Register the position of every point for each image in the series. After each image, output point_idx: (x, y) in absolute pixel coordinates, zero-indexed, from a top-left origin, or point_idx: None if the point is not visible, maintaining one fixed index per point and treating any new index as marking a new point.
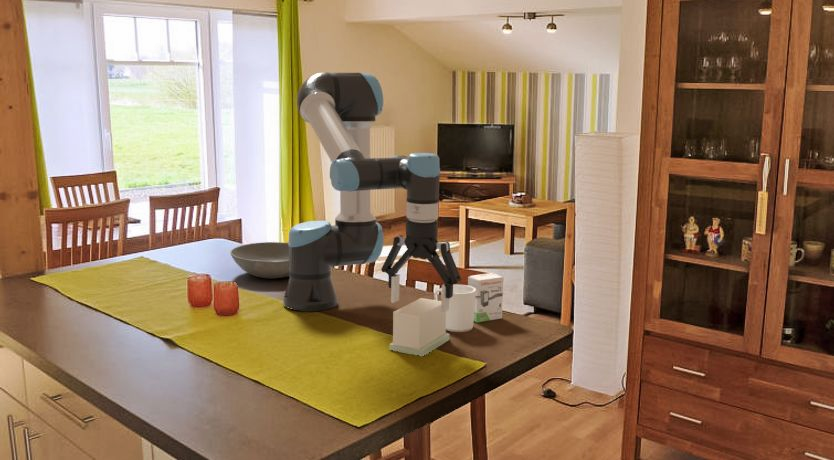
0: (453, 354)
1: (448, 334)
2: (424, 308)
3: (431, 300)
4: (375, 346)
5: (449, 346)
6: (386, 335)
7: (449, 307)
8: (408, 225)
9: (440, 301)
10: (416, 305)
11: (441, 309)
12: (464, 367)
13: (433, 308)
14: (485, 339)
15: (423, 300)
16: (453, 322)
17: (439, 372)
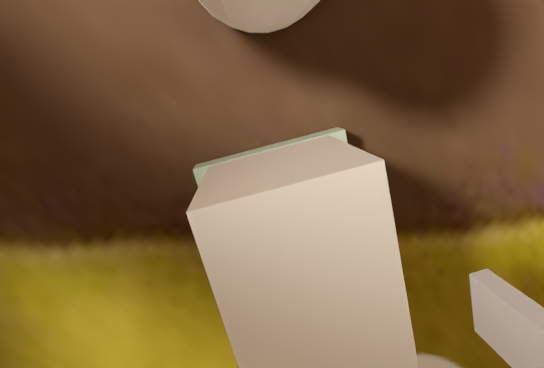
0: (438, 234)
1: (346, 137)
2: (366, 356)
3: (284, 206)
4: (194, 357)
5: None
6: (126, 259)
7: (281, 12)
8: None
9: (348, 181)
10: (291, 349)
11: (486, 340)
12: (523, 292)
13: (407, 322)
14: (447, 11)
15: (245, 245)
16: (293, 20)
17: (484, 365)
